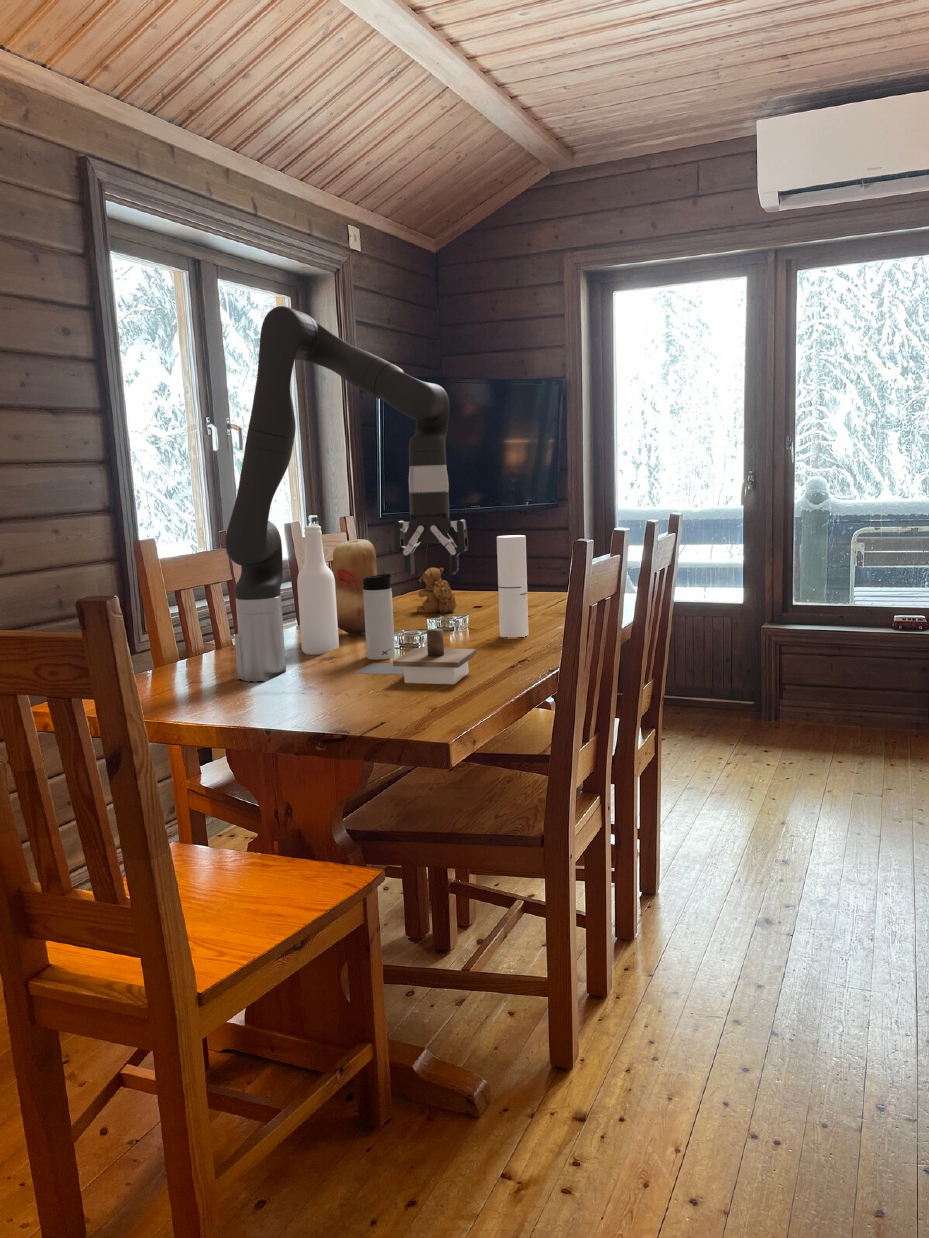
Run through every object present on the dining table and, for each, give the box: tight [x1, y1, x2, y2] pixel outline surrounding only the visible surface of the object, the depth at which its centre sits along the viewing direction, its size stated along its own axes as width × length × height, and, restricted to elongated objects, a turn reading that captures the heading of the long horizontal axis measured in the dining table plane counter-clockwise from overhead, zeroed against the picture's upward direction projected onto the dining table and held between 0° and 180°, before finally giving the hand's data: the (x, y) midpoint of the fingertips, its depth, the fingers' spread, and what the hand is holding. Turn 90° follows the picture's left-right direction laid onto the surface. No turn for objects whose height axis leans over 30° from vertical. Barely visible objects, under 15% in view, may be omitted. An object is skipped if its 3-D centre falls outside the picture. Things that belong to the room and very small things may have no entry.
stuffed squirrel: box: [416, 567, 458, 614], centre depth 277 cm, size 10×14×13 cm
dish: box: [403, 660, 469, 685], centre depth 182 cm, size 10×10×5 cm
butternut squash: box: [332, 538, 378, 637], centre depth 240 cm, size 14×13×25 cm
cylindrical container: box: [496, 534, 529, 639], centre depth 231 cm, size 7×7×25 cm
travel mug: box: [363, 572, 396, 660], centre depth 204 cm, size 6×7×20 cm
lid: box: [392, 628, 478, 668], centre depth 181 cm, size 13×13×6 cm
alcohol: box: [296, 525, 340, 656], centre depth 219 cm, size 9×9×30 cm
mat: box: [354, 662, 404, 676], centre depth 192 cm, size 13×10×2 cm
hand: (432, 574), depth 179 cm, fingers open, 8 cm apart
